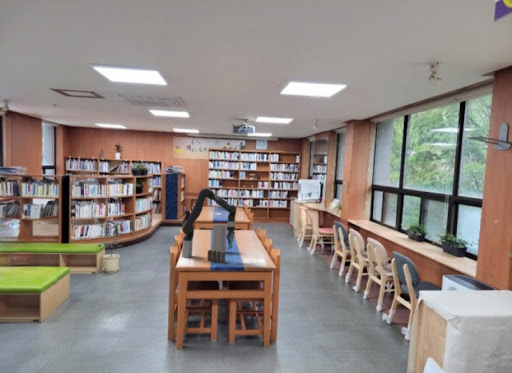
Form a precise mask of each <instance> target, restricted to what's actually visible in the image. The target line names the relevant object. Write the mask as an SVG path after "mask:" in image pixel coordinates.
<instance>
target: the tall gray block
mask: <svg viewBox="0 0 512 373" xmlns="http://www.w3.org/2000/svg"><path fill="white" fill-rule="evenodd" d="M227 234H228V230H227V224H212V249H211V250H212V251H214V250H216V254H217V252H218V251H221V253H222V252H225V254H226V251H227Z"/></svg>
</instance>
